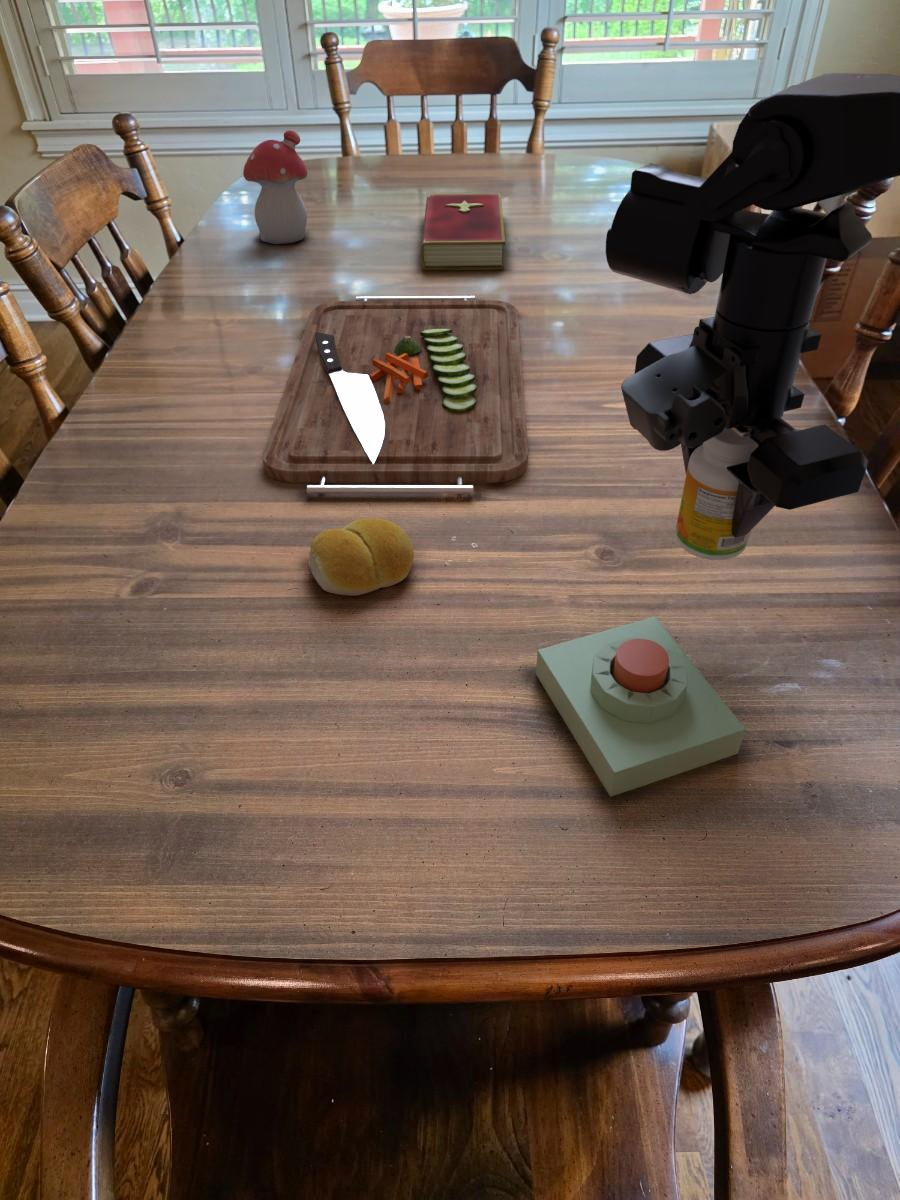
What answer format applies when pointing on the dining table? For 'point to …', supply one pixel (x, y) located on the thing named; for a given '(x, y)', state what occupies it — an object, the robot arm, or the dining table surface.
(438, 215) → the hardcover book
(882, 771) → the dining table surface
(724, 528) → the supplement bottle
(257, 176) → the decorative ornament
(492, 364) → the chopping board
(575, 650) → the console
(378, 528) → the bread roll
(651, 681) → the button
